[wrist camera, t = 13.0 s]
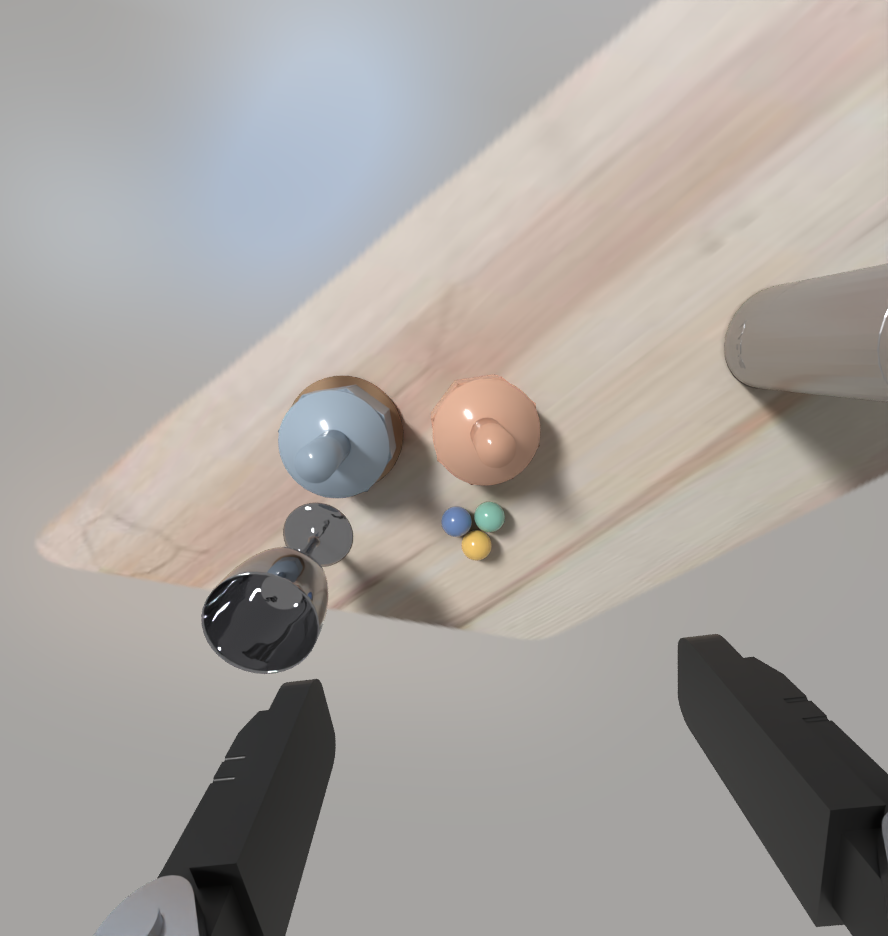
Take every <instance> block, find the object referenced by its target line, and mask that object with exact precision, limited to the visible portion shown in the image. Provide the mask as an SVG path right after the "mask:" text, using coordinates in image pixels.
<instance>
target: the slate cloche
mask: <svg viewBox="0 0 888 936" xmlns="http://www.w3.org/2000/svg"><path fill="white" fill-rule="evenodd" d="M278 432H279V438H278V443H279V451H280V456H281V459H282V462H283V464H284V466H285V468H286V469H287V471H288V473H289V474H290V475H291V476H292V478H293V479H294V480H295V481H296V482H297V483H298V484H300V485H301V486H302V487H304V488H305V489H307V490H308V491H310V492H312V493H315V494H317V495H320V496H323V497H329V498H346V497H351V496H354V495H357V494H359V493H361V492H366V491H368V490H369V488H370V487H371V486H372V485H373V484H374V483H375V482H376V481H377V480H378V479H379V477H380V476H381V474H382V473H383V471H384V469H385V467H386V465H387V464H388V462H389V461H390V460H391V459H392V457H393V454H394V452H395V449H396V443H395V437H394V432H393V426H392V420H391V415H390V409H389V408H388V407H386V406H385V405H384V404H382V403H381V402H379V401H378V400H377V399H375V398H374V397H373V396H371V395H370V394H368V393H367V392H366V391H364V390H363V389H362V388H360V387H359V386H357V385H350V386H344V387H337V388H330V389H324V390H316V391H313V392H309V393H306V394H303V395H302V396H301V397H300V399H299V400H298V402H296V403H295V404H294V405H293V406H292V407H291V408H290V409H289V411H288V412H287V413H286V415H285V417H284V419H283V421H282V424H281V426H280V429H279V430H278Z"/></svg>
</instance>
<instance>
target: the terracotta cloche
mask: <svg viewBox="0 0 888 936" xmlns="http://www.w3.org/2000/svg"><path fill="white" fill-rule="evenodd" d="M431 421H432V428H433V443H434V447H435V450H436V454H437V461H439V462H440V463H441V464H443V465H444V467H445V468H446V469H447V470H448V471H449V472H450V473H451V474H453V475H454V476H455V477H457V478H459V479H460V480H463V481H465V482H468V483H469V484H471V485H473V484H475V485H495V484H499V483H502V482H505V481H508V480H510V479H513V478H514V477H515V476H516V475H518V474H519V473H520V472H522V471H523V470H524V469H525V468H526V467H527V465H528V464H529V463H530V461H531V460H532V459H533V457H534V455H535V453H536V450H537V448H538V447H539V440H540V421H539V417H538V413H537V411H536V403H534V402H533V401H532V400H530V399H529V398H528V396H527V395H526V394H525V393H524V392H522V391H521V390H520V389H519V388H517V387H516V386H514V385H512V384H510V383H509V382H507V381H506V380H505V379H504V378H502V377H501V376H498V375H495V374H494V375H487V376H481V377H474V378H467V379H461V380H455V381H454V382H453V384H452V385H451V386H450V388H449V389H448V390H447V392H446V393H445V395H444V396H443V397H442V399H441V400H440V401H439V403H438V404H437V405H436V407H435V408H434V409H433V411H432V412H431Z"/></svg>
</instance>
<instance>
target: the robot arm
mask: <svg viewBox="0 0 888 936" xmlns="http://www.w3.org/2000/svg"><path fill="white" fill-rule="evenodd" d="M724 348H725V357H726V361H727V364H728V367H729V368H730V370H731V372H732V373H733V375H734V376H735V377H736V378H737V379H738V380H739V381H741V382H743V383H744V384H746V385H748V386H751V387H755V388H761V389H770V390H780V391H789V392H797V393H806V394H816V395H825V396H835V397H844V398H854V399H863V400H873V401H882V402H888V264H883V265H878V266H873V267H868V268H863V269H858V270H853V271H848V272H843V273H838V274H833V275H828V276H823V277H818V278H812V279H807V280H802V281H797V282H792V283H787V284H782V285H778V286H773V287H770V288H767V289H764V290H761V291H760V292H758V293H756V294H755V295H753V296H751V297H750V298H749V299H748V300H747V301H746V302H745V303H743V304H742V306H741V307H740V308H739V309H738V311H737V312H736V313H735V315H734V316H733V318H732V320H731V322H730V324H729V327H728V330H727V333H726V337H725V345H724ZM678 700H679V705H680V708H681V712H682V714H683V717H684V720H685V722H686V724H687V726H688V728H689V729H690V731H691V732H692V734H693V735H694V737H695V739H696V740H697V742H698V743H699V745H700V747H701V748H702V749H703V751H704V753H705V754H706V756H707V757H708V759H709V761H710V762H711V764H712V765H713V767H714V768H715V770H716V772H717V773H718V775H719V776H720V778H721V779H722V781H723V782H724V784H725V785H726V787H727V789H728V790H729V792H730V793H731V795H732V796H733V798H734V800H735V801H736V803H737V804H738V806H739V807H740V809H741V810H742V812H743V814H744V815H745V817H746V818H747V820H748V821H749V823H750V825H751V826H752V828H753V829H754V831H755V832H756V834H757V835H758V837H759V839H760V840H761V842H762V843H763V845H764V846H765V848H766V849H767V851H768V853H769V854H770V856H771V857H772V859H773V860H774V862H775V864H776V865H777V867H778V868H779V870H780V871H781V873H782V874H783V875H784V878H785V879H786V881H787V882H788V884H789V885H790V887H791V888H792V890H793V892H794V893H795V895H796V896H797V898H798V899H799V901H800V902H801V904H802V906H803V907H804V909H805V910H806V912H807V913H808V915H809V917H810V918H811V920H812V921H813V923H814V924H815V926H816V927H820V926H831V925H832V926H833V925H845V926H846V927H847V929H848V930H849V931H850V933H851V934H852V936H888V774H887V773H886V772H885V771H884V770H883V769H882V768H881V767H880V766H879V765H878V764H877V763H876V762H874V760H873V759H871V758H870V757H869V756H868V755H867V754H866V753H865V752H864V751H863V750H862V749H861V748H860V747H859V746H858V745H857V744H856V743H855V742H854V741H853V740H852V739H851V738H850V737H848V736H847V735H846V734H845V733H844V732H843V731H842V730H841V729H840V728H839V727H838V726H837V725H836V724H835V723H834V722H833V721H829V720H828V719H827V716H826V715H825V714H824V713H823V712H822V711H821V710H820V709H819V708H818V707H817V706H816V705H815V704H814V703H813V702H812V701H808V700H807V697H806V695H805V694H804V693H802V692H801V691H800V690H799V689H798V688H797V687H796V686H795V685H794V684H793V683H792V682H791V681H790V680H789V679H788V678H787V677H786V676H785V675H784V674H782V673H781V672H779V671H777V670H775V669H774V668H772V667H770V666H769V665H767V664H765V663H763V662H762V661H760V660H758V659H756V658H755V657H748V658H743V657H742V656H741V655H740V654H739V653H738V652H737V651H736V650H735V649H734V648H733V647H732V646H731V645H730V644H729V643H728V642H727V641H726V640H725V639H724V638H723V637H722V636H720V635H718V634H712V635H705V636H704V635H703V636H696V637H687V638H681V639H680V640H679V642H678ZM334 758H335V732H334V728H333V724H332V721H331V717H330V713H329V709H328V706H327V702H326V698H325V694H324V691H323V687H322V684H321V682H320V681H319V680H318V679H313V680H305V681H296V682H287V683H284V684H283V685H282V686H281V688H280V689H279V691H278V693H277V695H276V697H275V699H274V701H273V703H272V705H271V707H270V709H269V710H266V711H259V712H258V713H257V714H256V715H255V716H254V717H253V718H252V719H251V720H250V721H249V722H248V723H247V724H246V725H245V726H244V728H243V729H242V730H241V731H240V732H239V733H238V735H237V736H236V739H235V740H234V742H233V744H232V745H231V747H230V749H229V751H228V753H227V755H226V756H225V761H224V762H222V764H221V765H220V767H219V769H218V771H217V773H216V774H215V776H214V780H213V783H211V784H210V785H209V787H208V789H207V791H206V792H205V794H204V796H203V798H202V800H201V801H200V803H199V805H198V807H197V808H196V810H195V812H194V814H193V816H192V818H191V819H190V821H189V823H188V825H187V826H186V828H185V830H184V832H183V834H182V836H181V837H180V839H179V841H178V843H177V844H176V846H175V848H174V850H173V852H172V854H171V855H170V857H169V859H168V861H167V862H166V864H165V866H164V868H163V870H162V871H161V873H160V874H159V876H158V878H157V879H155V880H153V881H151V882H149V883H147V884H145V885H143V886H142V887H140V888H139V889H137V890H136V891H134V892H133V893H132V894H130V895H129V896H128V897H127V898H126V899H124V900H123V901H122V902H121V903H120V904H119V905H118V906H117V907H116V908H115V909H114V910H113V911H112V912H111V913H110V914H109V915H108V917H107V918H106V919H105V920H104V921H103V923H102V924H101V925H100V927H99V928H98V930H97V931H96V933H95V934H94V935H93V936H285V934H286V931H287V927H288V924H289V920H290V917H291V913H292V909H293V906H294V902H295V899H296V895H297V892H298V888H299V885H300V881H301V878H302V874H303V870H304V867H305V863H306V860H307V856H308V853H309V849H310V846H311V842H312V838H313V835H314V831H315V828H316V824H317V820H318V817H319V814H320V810H321V807H322V803H323V799H324V796H325V792H326V789H327V785H328V782H329V778H330V774H331V771H332V768H333V764H334Z"/></svg>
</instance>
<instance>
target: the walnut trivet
mask: <svg viewBox="0 0 888 936" xmlns="http://www.w3.org/2000/svg"><path fill="white" fill-rule="evenodd" d="M350 385H357V386H359V387H360V388H362V389H363V390H364V391H366V392H367V393H368V394H370V395H371V396H373V397H374V398H375V399H377V400H378V401H379V402H381V403H382V404H384V405H385V406H386V407H388V408H389V409H390V415H391V420H392V426H393V432H394V437H395V443H396V449H395V452H394V454H393V457H392V459H391V460H390V461H389V462H388V464H387V465H386V467H385V469H384V471H383V473H382V474H381V476H380V477H379V479H378V480H377V481H379V480H380V479H382V478H383V477H384V476H385V475H386V474H387V473H388V472H389V471H390V470H391V469H392V467H393V466H394V464H395V463H396V461H397V459H398V457H399V454H400V451H401V447H402V442H403V429H402V423H401V419H400V416H399V413H398V411H397V409H396V407H395V405H394V404H393V402H392V401H391V400H390V398H389V397H388V396H387V395H386V394H385V393H384V392H383V391H382V390H381V389H379V388H378V387H377V386H375V385H374V384H372V383H370V382H368V381H366V380H363V379H360V378H357V377H352V376H333V377H329V378H324V379H322V380H319V381H317V382H315V383H313V384H311V385H310V386H308V387H307V388H306V389H305V390H304V391H302V392H301V393H300V394H299V396H298V397H297V398H296V400H295V401H294V403H293V405H294V404H295V403H296V402H298V400H299V399H300V397H301V396H302V395H303V394H306V393H309V392H313V391H316V390H324V389H330V388H337V387H344V386H350ZM293 405H292V406H293ZM377 481H376V482H377ZM376 482H375V483H376Z"/></svg>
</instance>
